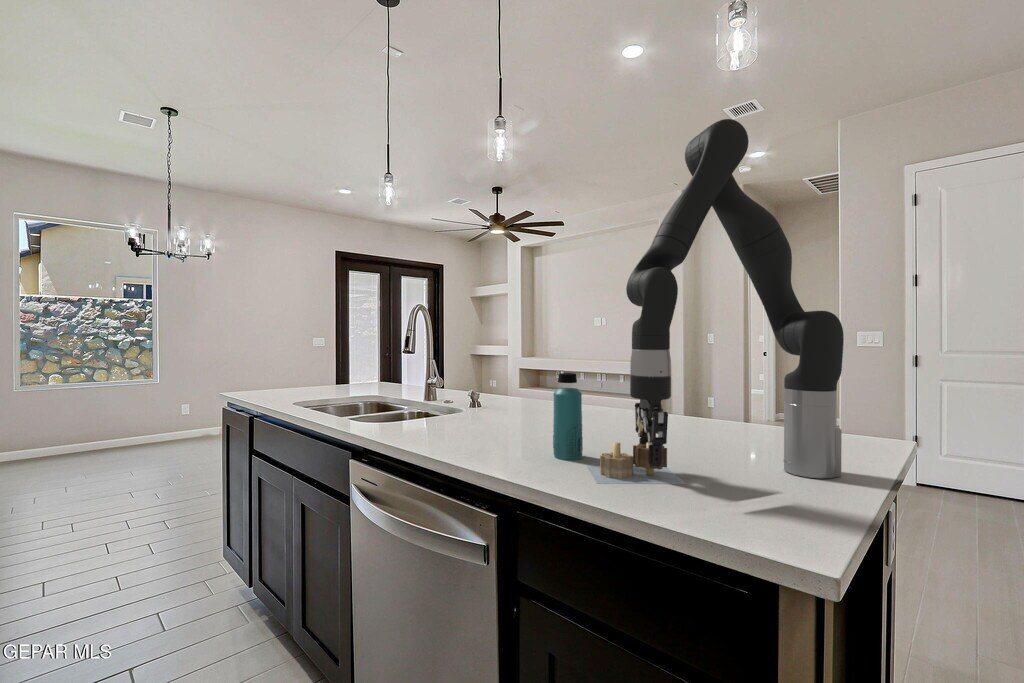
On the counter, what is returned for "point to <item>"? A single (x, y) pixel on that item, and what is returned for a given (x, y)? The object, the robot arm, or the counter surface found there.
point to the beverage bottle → (567, 420)
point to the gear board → (636, 473)
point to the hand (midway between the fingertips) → (650, 460)
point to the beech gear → (616, 466)
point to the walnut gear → (647, 457)
